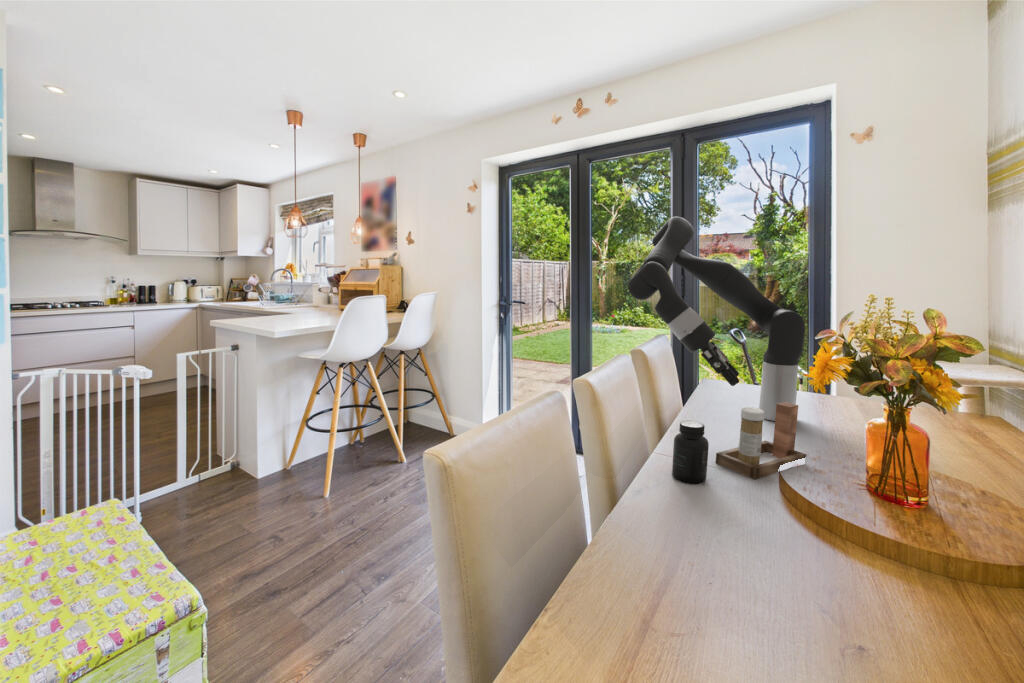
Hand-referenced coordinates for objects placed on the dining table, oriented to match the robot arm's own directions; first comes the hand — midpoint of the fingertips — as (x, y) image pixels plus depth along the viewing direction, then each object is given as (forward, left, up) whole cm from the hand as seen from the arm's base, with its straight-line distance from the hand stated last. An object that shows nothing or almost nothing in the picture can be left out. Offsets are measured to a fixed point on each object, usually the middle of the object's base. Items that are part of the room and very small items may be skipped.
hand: (736, 380), depth 109 cm
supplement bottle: (+23, +7, -18) cm, 30 cm away
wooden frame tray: (+2, +9, -18) cm, 20 cm away
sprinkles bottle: (+6, +9, -18) cm, 21 cm away
